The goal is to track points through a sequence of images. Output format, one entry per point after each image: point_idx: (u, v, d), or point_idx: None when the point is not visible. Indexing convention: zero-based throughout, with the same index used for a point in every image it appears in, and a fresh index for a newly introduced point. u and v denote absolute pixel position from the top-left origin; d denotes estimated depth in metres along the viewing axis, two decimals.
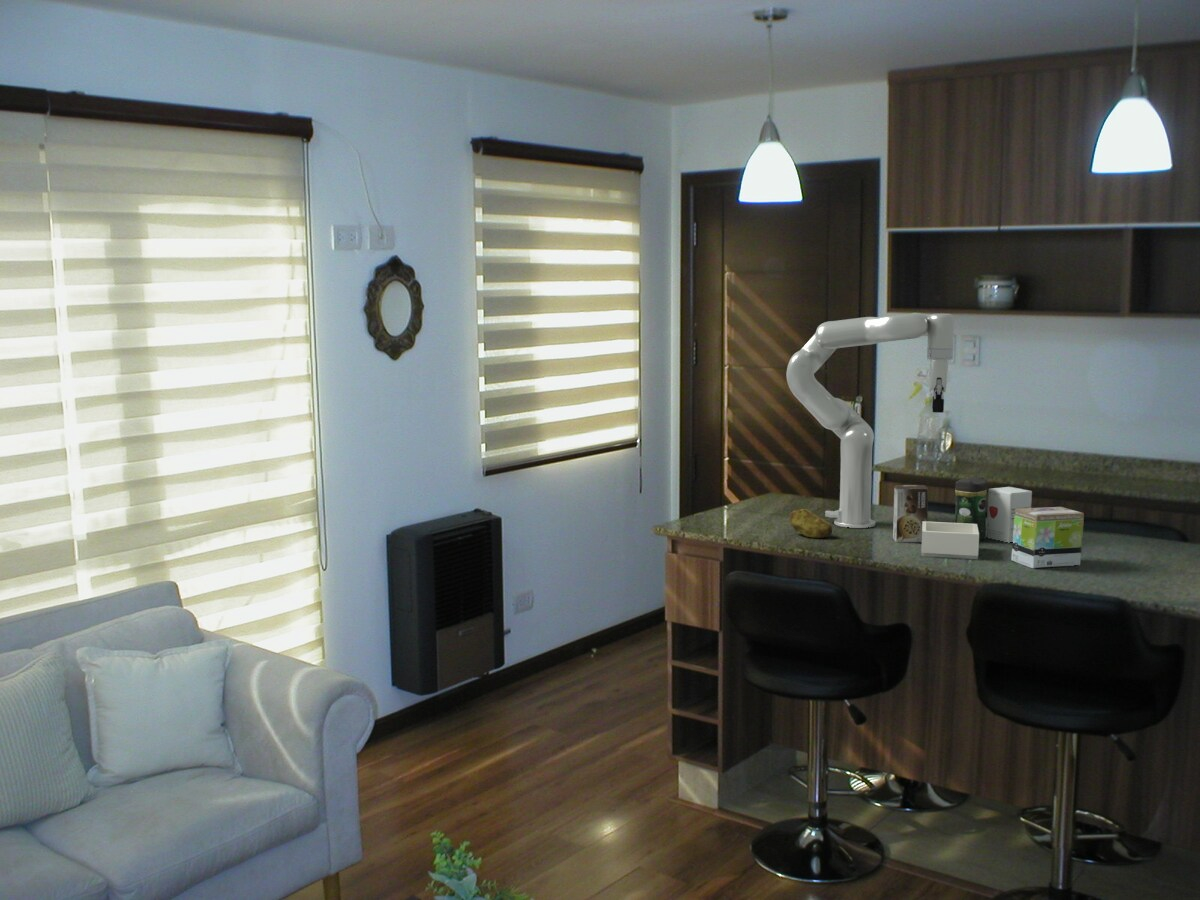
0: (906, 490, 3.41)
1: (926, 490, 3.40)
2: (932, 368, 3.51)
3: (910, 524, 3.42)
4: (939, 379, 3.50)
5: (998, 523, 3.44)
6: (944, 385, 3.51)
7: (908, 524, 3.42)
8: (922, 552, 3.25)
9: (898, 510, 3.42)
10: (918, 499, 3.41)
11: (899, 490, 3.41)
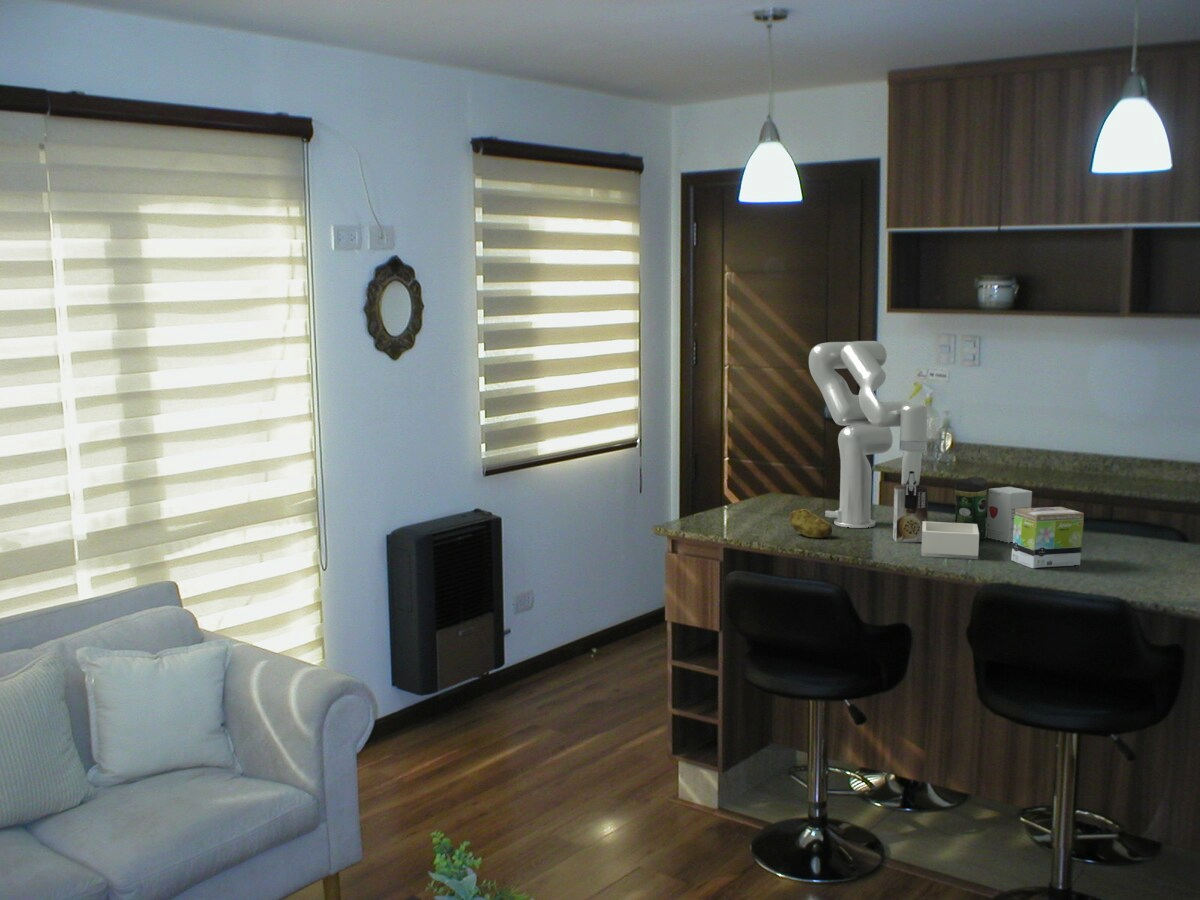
0: None
1: (926, 490, 3.40)
2: (904, 461, 3.39)
3: (910, 524, 3.42)
4: (911, 474, 3.38)
5: (998, 523, 3.44)
6: (917, 479, 3.38)
7: (908, 524, 3.42)
8: (922, 552, 3.25)
9: (898, 510, 3.42)
10: (918, 499, 3.41)
11: (899, 490, 3.41)
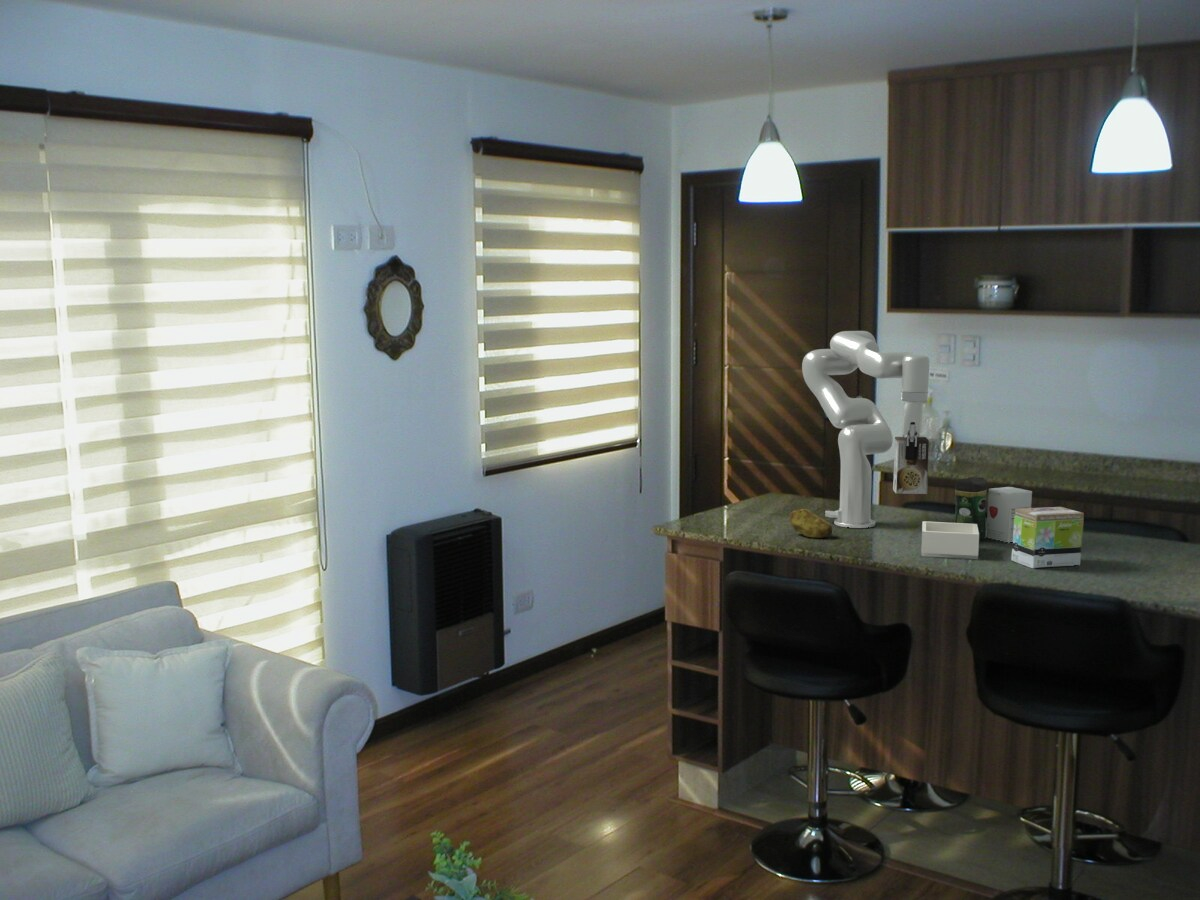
0: None
1: (927, 441, 3.39)
2: (905, 412, 3.37)
3: (911, 476, 3.41)
4: (912, 425, 3.36)
5: (998, 523, 3.44)
6: (918, 430, 3.37)
7: (909, 476, 3.41)
8: (922, 552, 3.25)
9: (898, 461, 3.40)
10: (918, 451, 3.39)
11: (900, 441, 3.39)
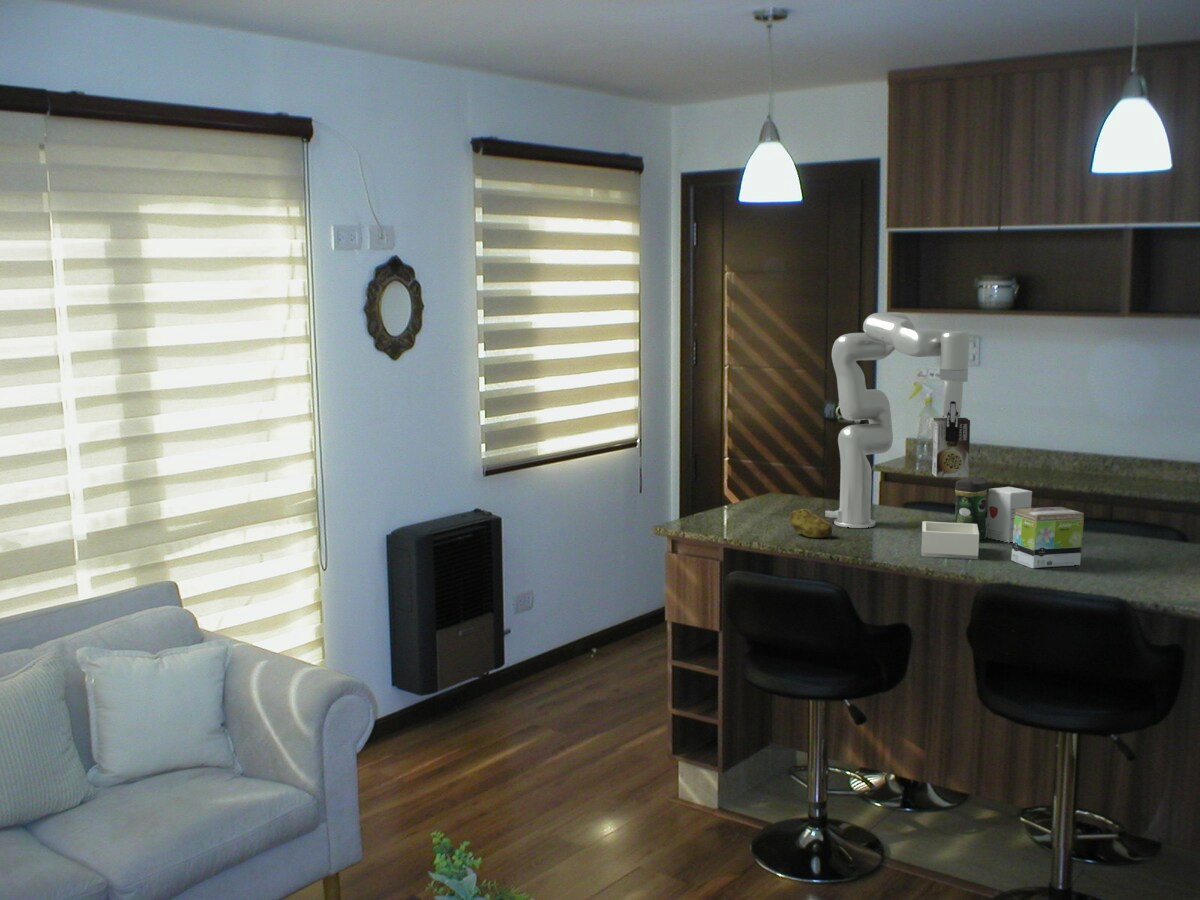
0: None
1: (968, 422, 3.22)
2: (945, 391, 3.21)
3: (951, 458, 3.24)
4: (953, 404, 3.20)
5: (998, 523, 3.44)
6: (958, 410, 3.20)
7: (949, 458, 3.24)
8: (922, 552, 3.25)
9: (938, 443, 3.24)
10: (959, 431, 3.23)
11: (939, 422, 3.23)
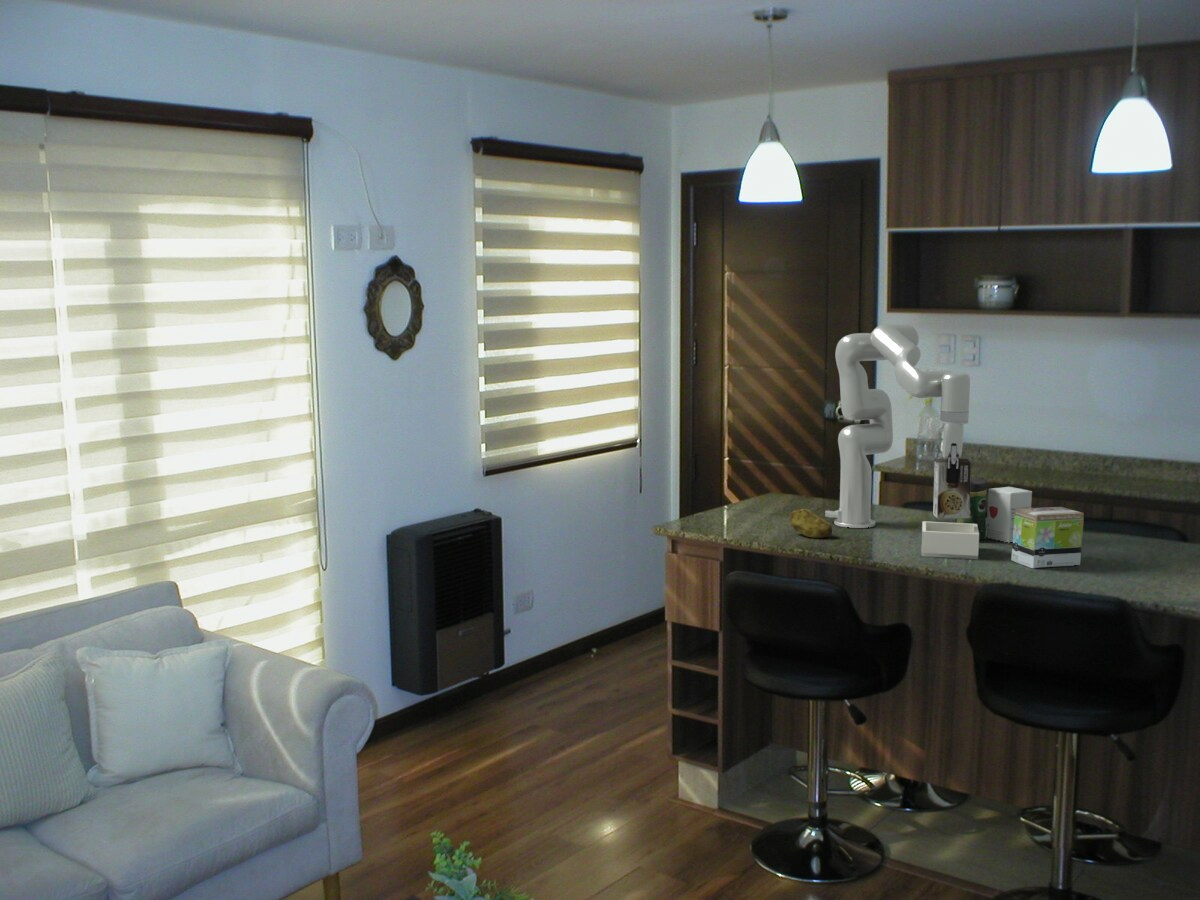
0: None
1: (969, 463, 3.23)
2: (946, 433, 3.22)
3: (952, 499, 3.25)
4: (954, 446, 3.21)
5: (998, 523, 3.44)
6: (959, 452, 3.21)
7: (950, 499, 3.25)
8: (922, 552, 3.25)
9: (939, 484, 3.25)
10: (960, 473, 3.24)
11: (940, 463, 3.24)
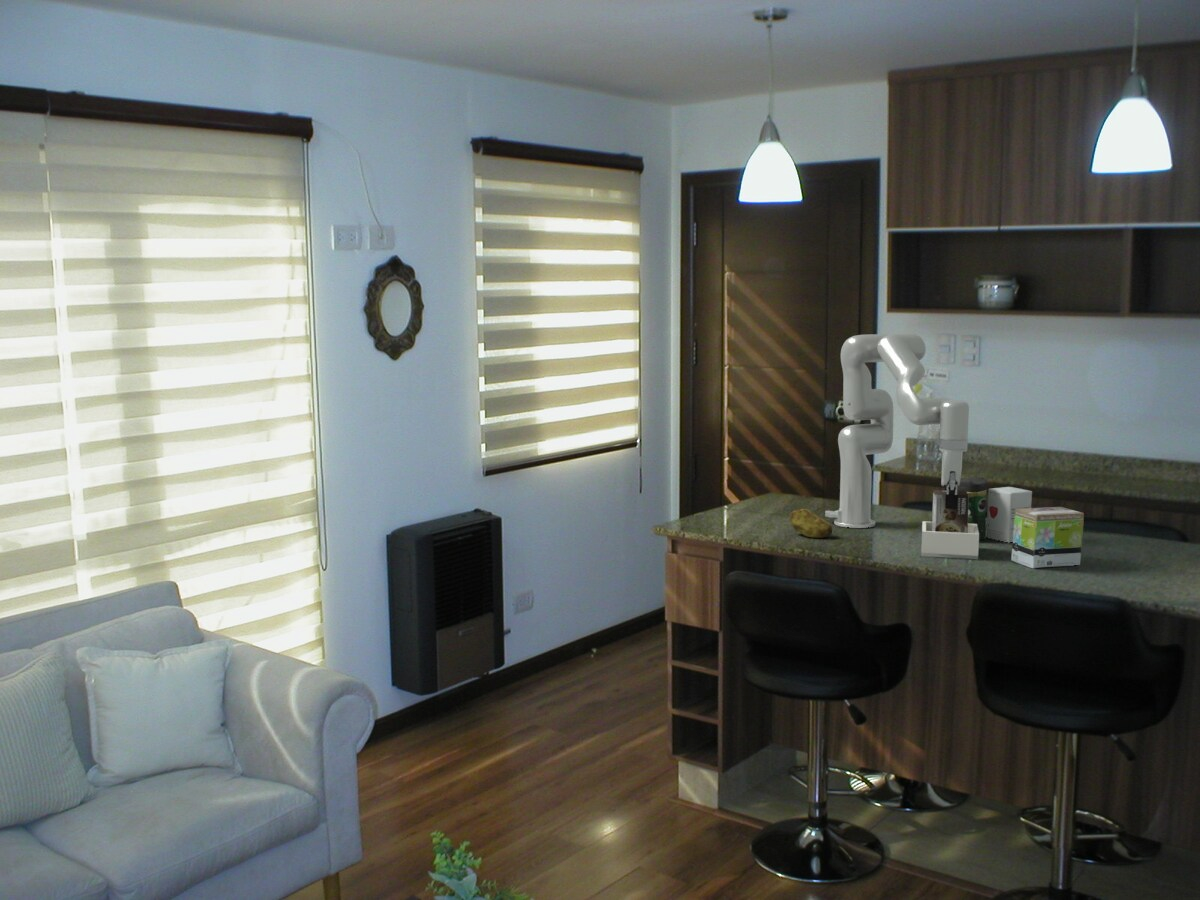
0: (945, 496, 3.25)
1: (966, 496, 3.25)
2: (945, 461, 3.23)
3: None
4: (952, 473, 3.22)
5: (998, 523, 3.44)
6: (958, 479, 3.22)
7: (947, 531, 3.27)
8: (922, 552, 3.25)
9: (937, 517, 3.27)
10: (957, 505, 3.25)
11: (938, 496, 3.26)
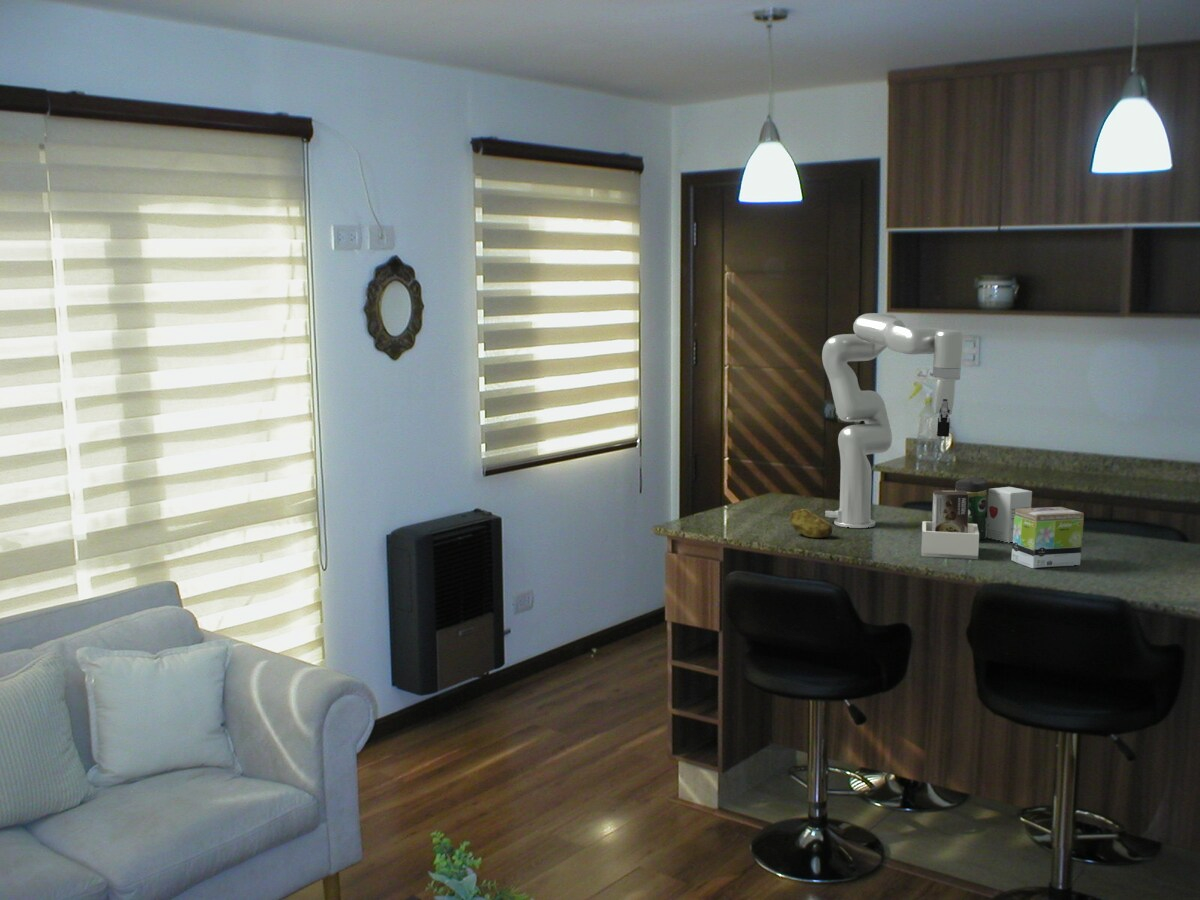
0: (945, 496, 3.25)
1: (966, 496, 3.25)
2: (938, 389, 3.27)
3: None
4: (945, 401, 3.26)
5: (998, 523, 3.44)
6: (950, 407, 3.26)
7: (947, 531, 3.27)
8: (922, 552, 3.25)
9: (937, 517, 3.27)
10: (957, 505, 3.25)
11: (938, 496, 3.26)
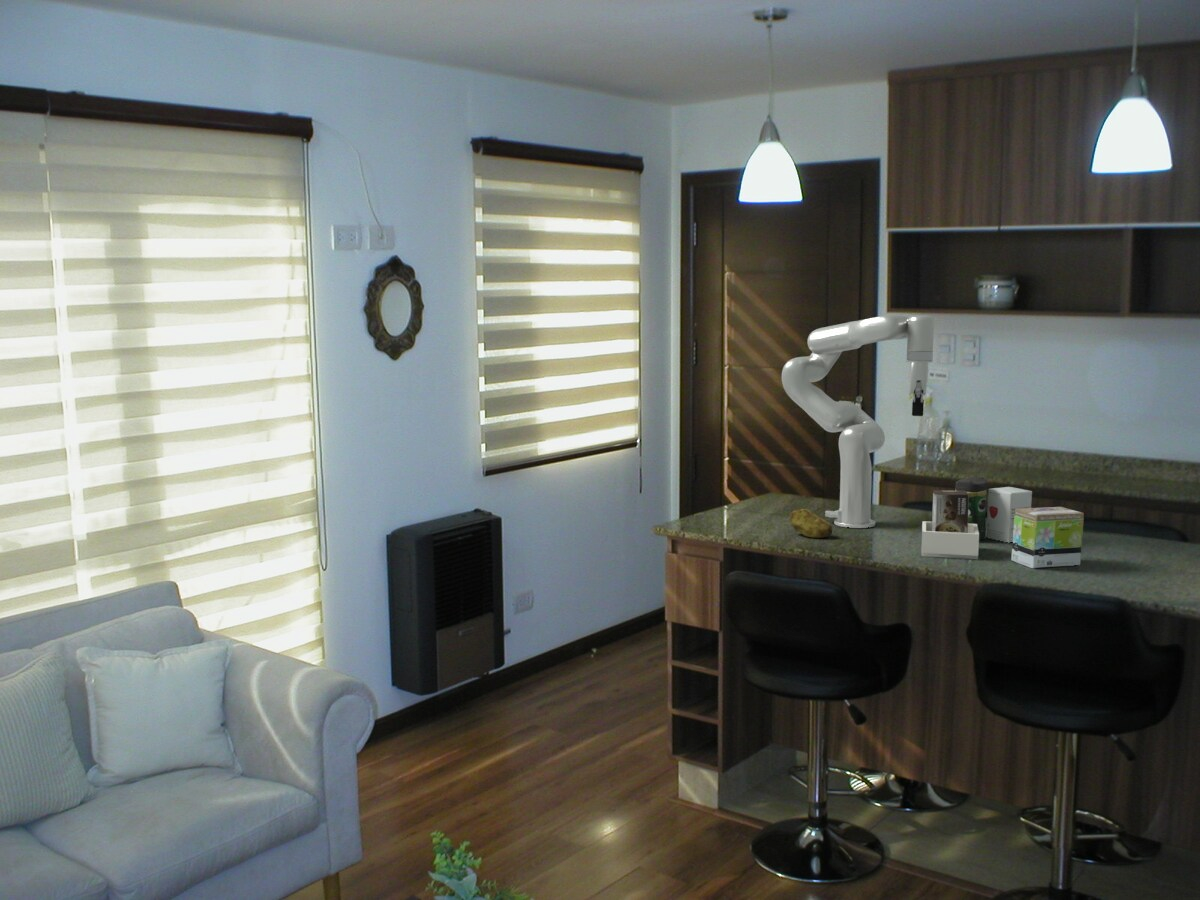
0: (945, 496, 3.25)
1: (966, 496, 3.25)
2: (911, 371, 3.46)
3: None
4: (918, 382, 3.45)
5: (998, 523, 3.44)
6: (924, 388, 3.45)
7: (947, 531, 3.27)
8: (922, 552, 3.25)
9: (937, 517, 3.27)
10: (957, 505, 3.25)
11: (938, 496, 3.26)
